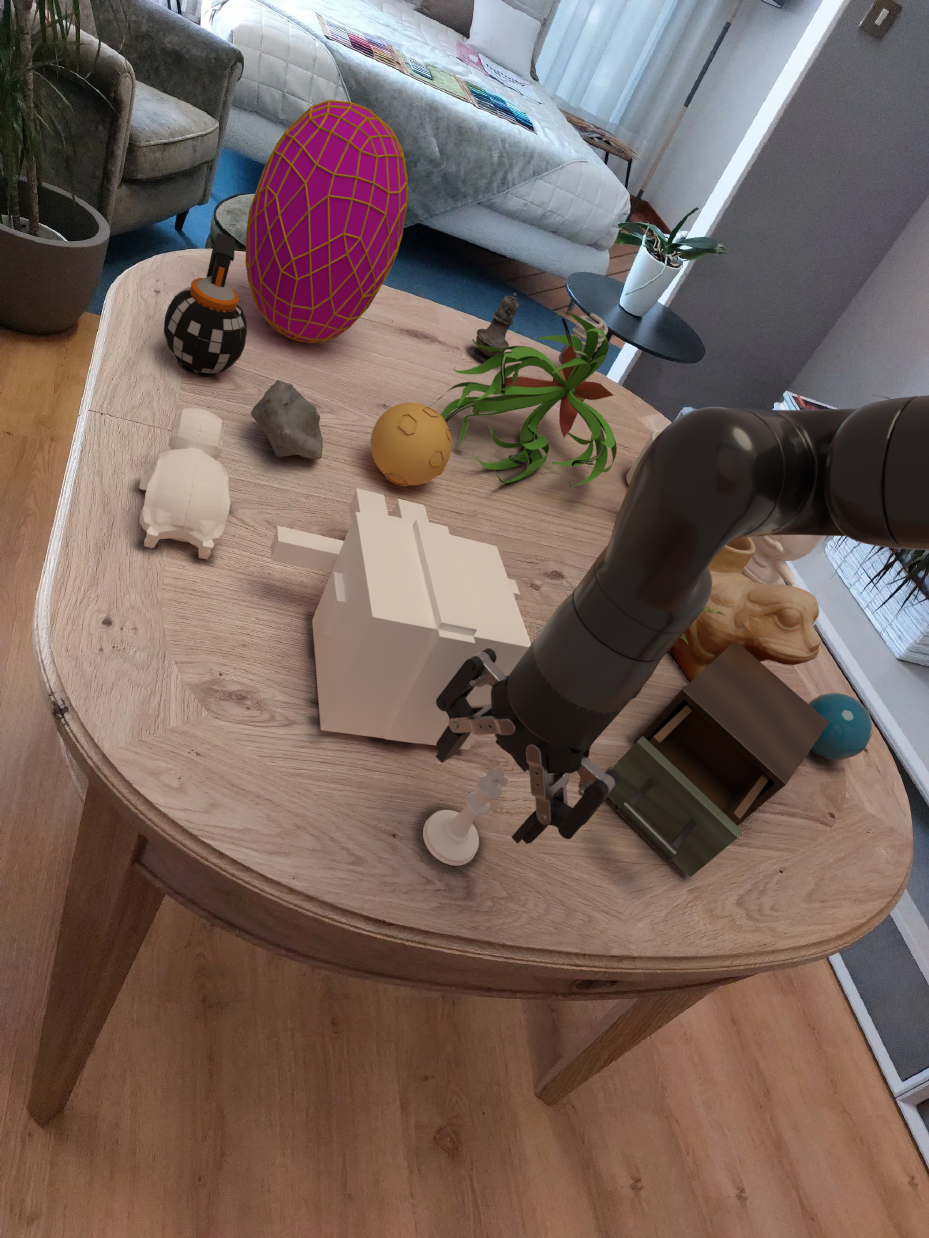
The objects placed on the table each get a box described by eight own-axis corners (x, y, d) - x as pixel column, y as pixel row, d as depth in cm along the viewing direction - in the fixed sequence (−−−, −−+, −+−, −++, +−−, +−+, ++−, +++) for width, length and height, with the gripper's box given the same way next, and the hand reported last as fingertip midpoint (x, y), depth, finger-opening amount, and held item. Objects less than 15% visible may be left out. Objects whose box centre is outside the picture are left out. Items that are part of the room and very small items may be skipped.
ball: (803, 711, 107) (846, 672, 102) (850, 761, 104) (898, 722, 99) (774, 729, 101) (818, 688, 96) (823, 782, 98) (871, 742, 93)
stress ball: (346, 470, 101) (374, 401, 95) (378, 441, 109) (406, 375, 103) (416, 513, 101) (449, 447, 95) (444, 480, 109) (476, 417, 103)
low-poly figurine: (215, 576, 84) (233, 451, 90) (233, 539, 77) (251, 406, 83) (125, 557, 81) (150, 429, 87) (134, 517, 74) (161, 380, 80)
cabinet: (728, 833, 85) (786, 784, 80) (633, 742, 89) (682, 689, 83) (775, 769, 96) (829, 722, 90) (689, 690, 100) (735, 640, 94)
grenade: (161, 327, 106) (185, 211, 96) (236, 349, 110) (266, 240, 100) (154, 375, 98) (179, 254, 89) (235, 397, 102) (268, 284, 93)
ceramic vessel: (719, 726, 97) (805, 641, 88) (592, 567, 109) (656, 478, 100) (783, 705, 106) (867, 626, 96) (659, 560, 118) (723, 477, 109)
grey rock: (322, 486, 97) (344, 430, 92) (243, 468, 93) (262, 409, 88) (315, 431, 104) (335, 376, 99) (242, 412, 100) (259, 354, 95)
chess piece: (427, 804, 72) (476, 736, 66) (479, 824, 73) (532, 759, 66) (418, 853, 68) (468, 786, 62) (473, 874, 69) (528, 809, 63)
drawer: (663, 913, 73) (713, 872, 69) (566, 813, 77) (607, 769, 72) (741, 807, 87) (787, 768, 83) (656, 727, 91) (696, 685, 86)
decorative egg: (299, 383, 110) (377, 151, 92) (194, 301, 114) (249, 61, 95) (382, 358, 125) (464, 154, 107) (287, 286, 128) (351, 76, 110)
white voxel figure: (464, 580, 99) (519, 768, 79) (253, 533, 89) (254, 734, 69) (518, 477, 91) (595, 658, 70) (292, 413, 81) (306, 602, 61)
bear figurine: (739, 641, 112) (839, 535, 100) (680, 540, 125) (761, 436, 113) (779, 647, 115) (880, 545, 103) (717, 548, 128) (800, 448, 116)
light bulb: (547, 363, 150) (580, 303, 143) (574, 374, 152) (608, 314, 145) (553, 379, 147) (587, 318, 139) (580, 390, 149) (616, 330, 141)
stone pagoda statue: (465, 356, 138) (497, 289, 131) (470, 343, 142) (501, 278, 135) (497, 372, 139) (530, 307, 131) (501, 359, 143) (533, 295, 136)
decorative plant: (576, 478, 137) (536, 562, 112) (459, 373, 133) (392, 437, 109) (695, 358, 122) (678, 426, 97) (567, 237, 118) (516, 276, 94)
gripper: (478, 610, 55) (390, 750, 65) (639, 766, 51) (519, 890, 61) (539, 578, 61) (449, 712, 71) (688, 717, 57) (571, 838, 67)
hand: (482, 794), depth 66 cm, fingers open, 8 cm apart
